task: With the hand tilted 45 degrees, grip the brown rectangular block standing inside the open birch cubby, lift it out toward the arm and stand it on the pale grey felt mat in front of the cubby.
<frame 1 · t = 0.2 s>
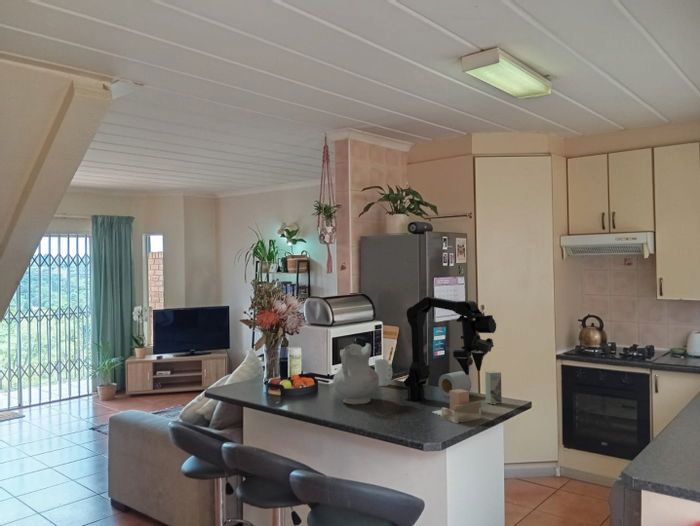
hand: (473, 372, 214), 14 cm above the countertop, tool pointing down, fingers open, 9 cm apart
mug: (384, 385, 265), on the countertop
brown rectangular block: (459, 418, 202), resting in cubby
toilet paper: (455, 396, 239), on the countertop
mat: (446, 413, 209), on the countertop
cubby: (459, 417, 202), on the countertop
box: (493, 403, 223), on the countertop
ceramic pitcher: (356, 402, 232), on the countertop
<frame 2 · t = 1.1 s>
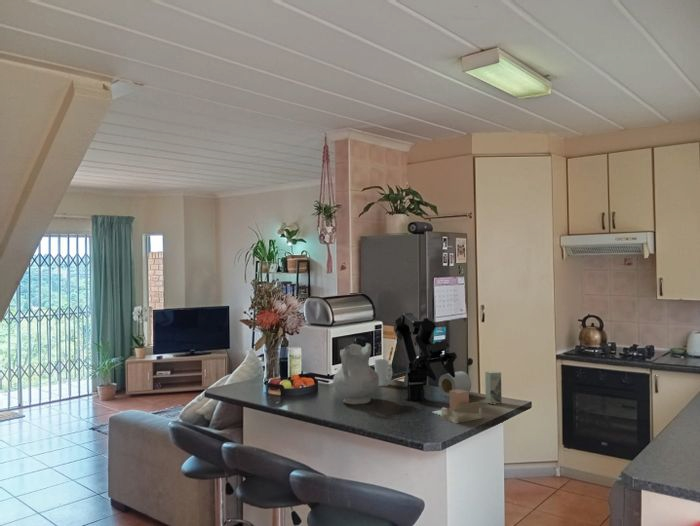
hand: (445, 378, 209), 13 cm above the countertop, tool tilted 45°, fingers open, 9 cm apart
nothing on the countertop moved.
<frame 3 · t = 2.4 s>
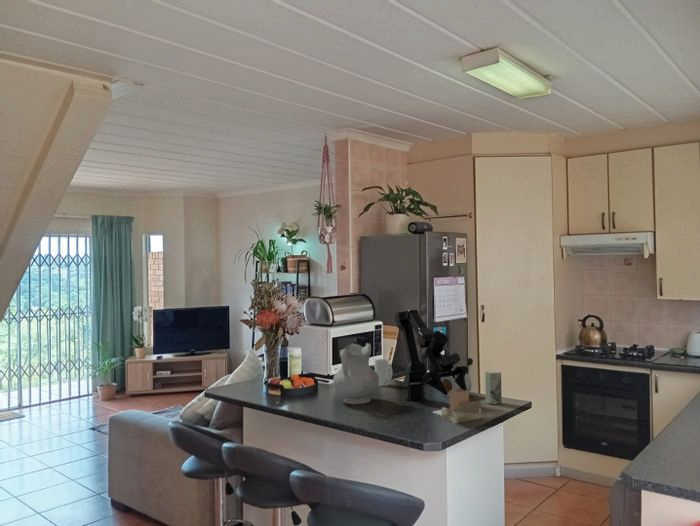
hand: (456, 393, 203), 9 cm above the countertop, tool tilted 45°, fingers open, 9 cm apart
nothing on the countertop moved.
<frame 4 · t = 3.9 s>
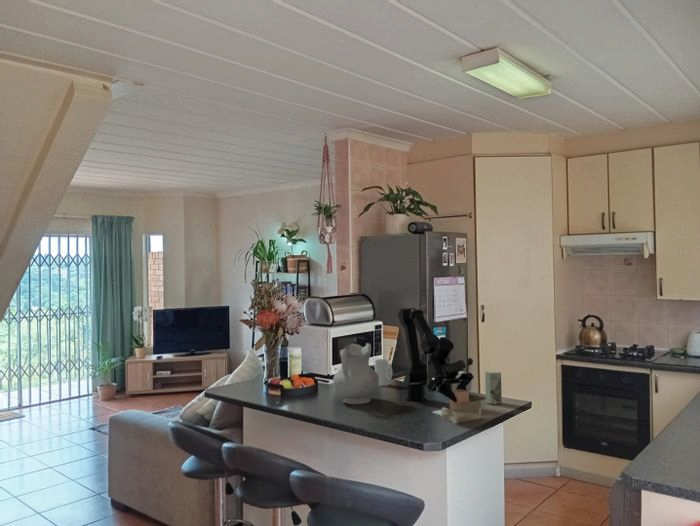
hand: (461, 400, 201), 7 cm above the countertop, tool tilted 45°, fingers closed on brown rectangular block, 5 cm apart
brown rectangular block: (459, 418, 202), resting in cubby, touching gripper
everything else where it was.
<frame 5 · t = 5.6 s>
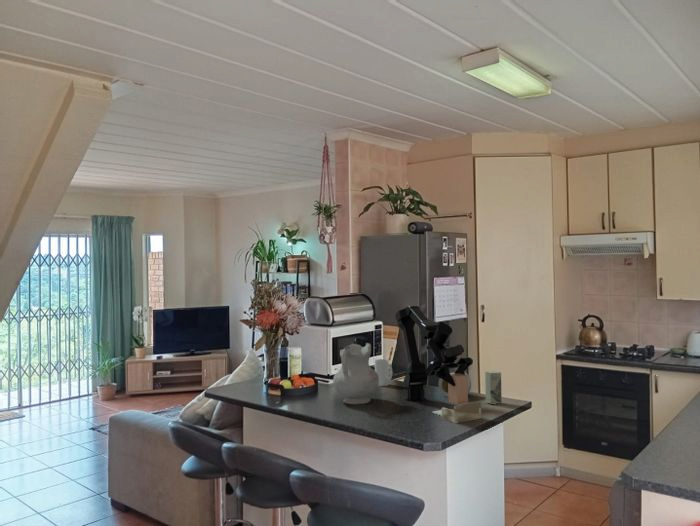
hand: (460, 384, 202), 12 cm above the countertop, tool tilted 45°, fingers closed on brown rectangular block, 5 cm apart
brown rectangular block: (458, 402, 203), point 6 cm above the countertop, touching gripper
everything else where it was.
when the fingers open (8 cm above the countertop, at t = 7.8 s): brown rectangular block stays where it is, resting on mat.
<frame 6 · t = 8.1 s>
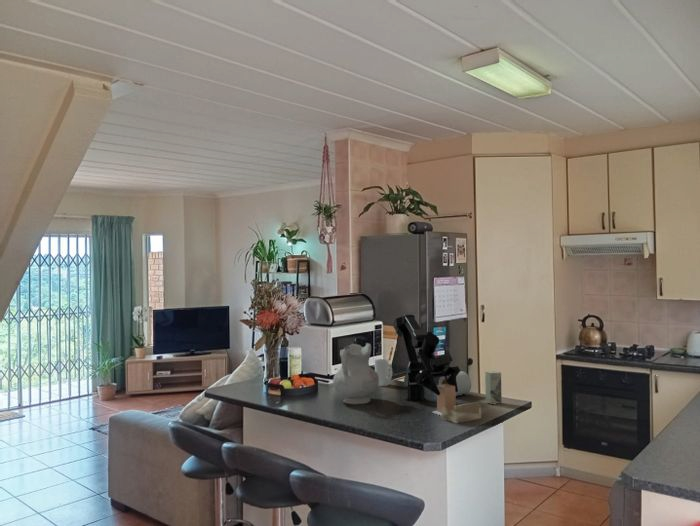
hand: (448, 393, 208), 8 cm above the countertop, tool tilted 45°, fingers open, 8 cm apart
brown rectangular block: (446, 412, 209), point 1 cm above the countertop, touching mat
everything else where it was.
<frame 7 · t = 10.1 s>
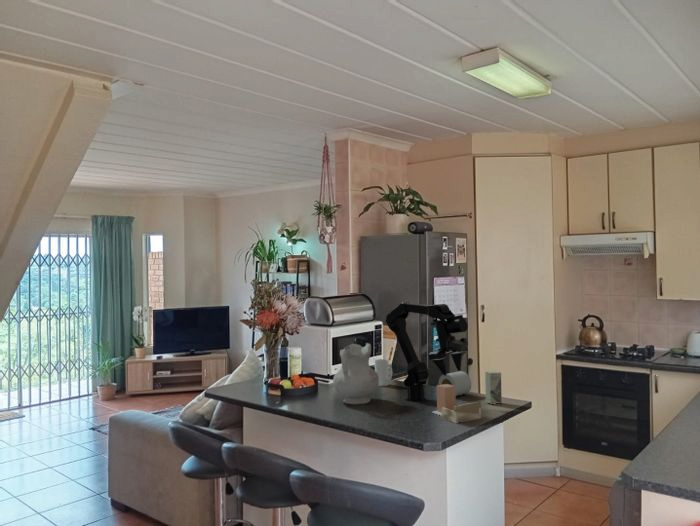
hand: (452, 373, 220), 13 cm above the countertop, tool pointing down, fingers open, 9 cm apart
nothing on the countertop moved.
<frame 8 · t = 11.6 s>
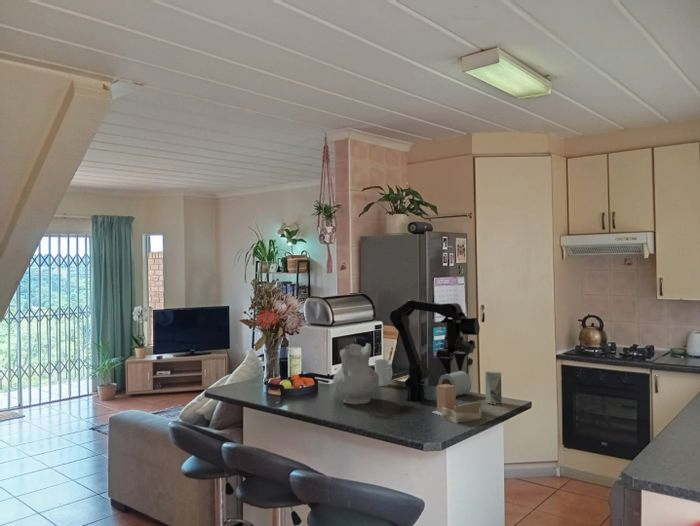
hand: (454, 372, 223), 13 cm above the countertop, tool pointing down, fingers open, 9 cm apart
nothing on the countertop moved.
at the end: brown rectangular block inside the target area (0.4 cm from its centre), point 0.6 cm above the countertop; brown rectangular block tilted 0°; the gripper is holding nothing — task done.
